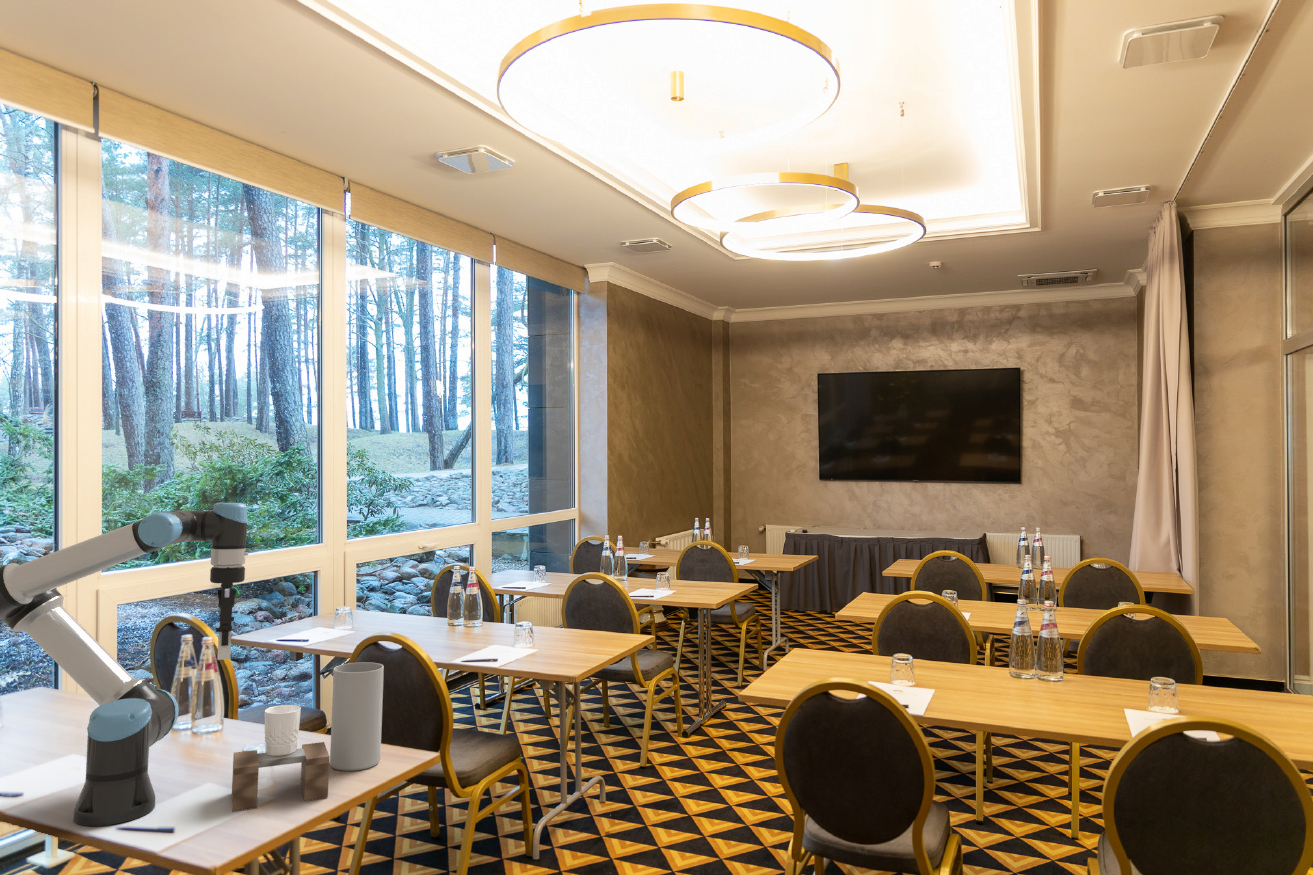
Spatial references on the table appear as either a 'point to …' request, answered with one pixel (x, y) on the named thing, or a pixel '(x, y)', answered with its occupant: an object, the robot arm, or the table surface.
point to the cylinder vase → (356, 716)
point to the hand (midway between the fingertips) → (223, 653)
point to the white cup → (281, 729)
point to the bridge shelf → (307, 776)
